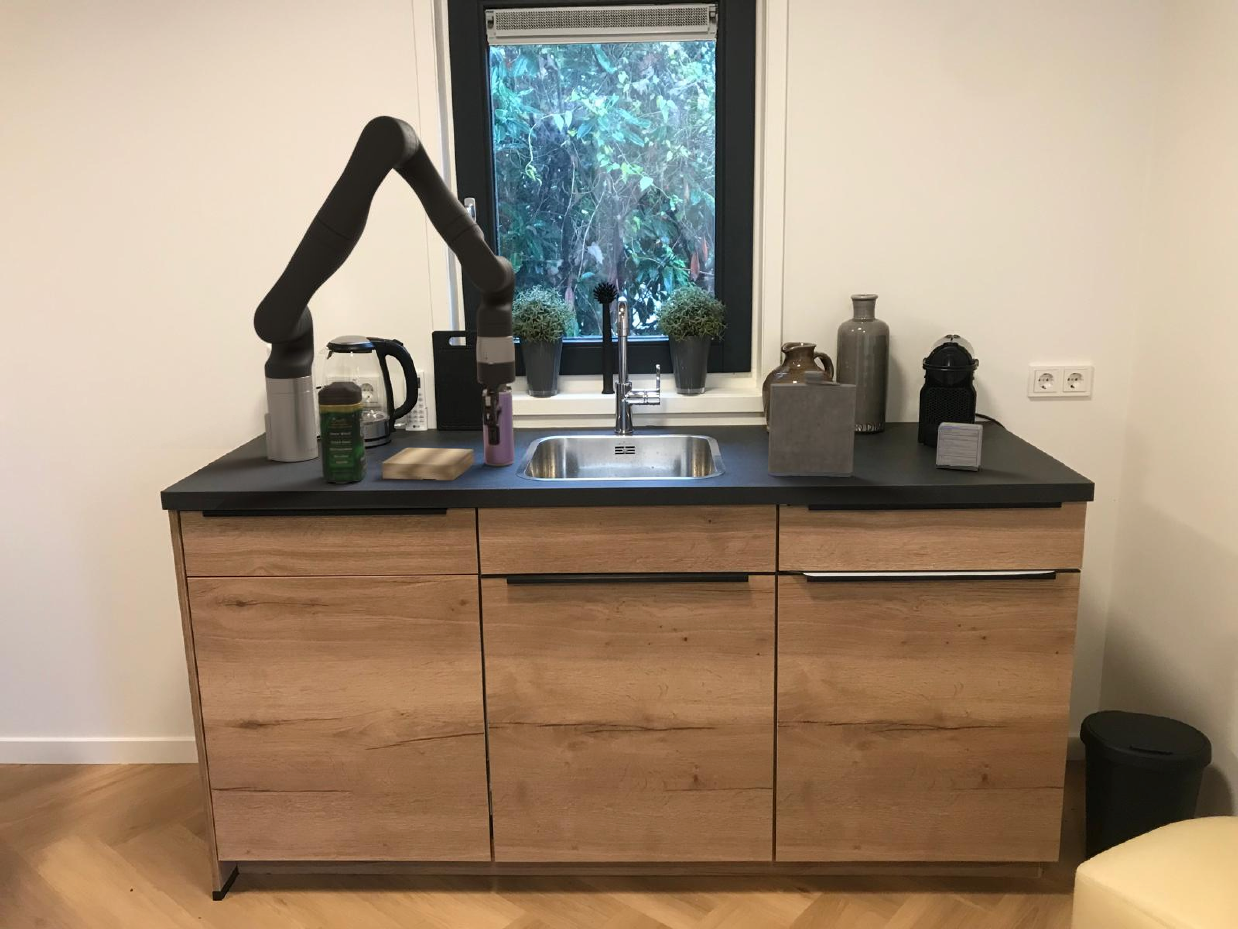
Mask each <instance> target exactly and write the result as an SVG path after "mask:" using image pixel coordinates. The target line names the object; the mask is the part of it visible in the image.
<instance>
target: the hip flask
mask: <svg viewBox="0 0 1238 929" xmlns="http://www.w3.org/2000/svg"><path fill="white" fill-rule="evenodd" d="M803 377H805V378H804V382H799V383H798V382H791V383H790V382H788V383H787V382H785V383H784V382H781V383H771V384H770V391H769V392H770V398H769V399H770V400H769V402H770V403H769V429H768V430H769V433H768V434H769V436H768V463H767V466H768V468H767V473H768V472H770V473H787V472H835V473H837V472H838V473H851V472H852V473H853V466H854V446H855V445H854V444H855V428H856V426H855V423H856V404H857V385H856V384H852V383H851V384H850V383H849V384H848V383H841V382H835V381H823V379H822V378H823V377H824V371H820V370H806V371H803Z"/></svg>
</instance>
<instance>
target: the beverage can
mask: <svg viewBox="0 0 1238 929" xmlns="http://www.w3.org/2000/svg"><path fill="white" fill-rule="evenodd" d="M482 396H487V388H486V389H483V390H482V395H481V397H482ZM501 403H502V405H503V409H502V410H503V415H502V416H500V425H499V427H500V444H499V445H489V443H488V426H486V425H484V423H483V422H482V426H483V427H482V428H483V431H482V432H483V453H484V455H483V456H484V463H485V465H487V466H491V467H506V466H510V465H512V464H513V462H514V460H515V453H514V452H515V446H514V443H515V442H514V415H513V414H514V413H513V395H512V390H510V389H506V388H505V390H503V391H501V392H499V404H498V405H496V411H497V410H499V407H500V404H501ZM490 419H493V415H491V416H490Z"/></svg>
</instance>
